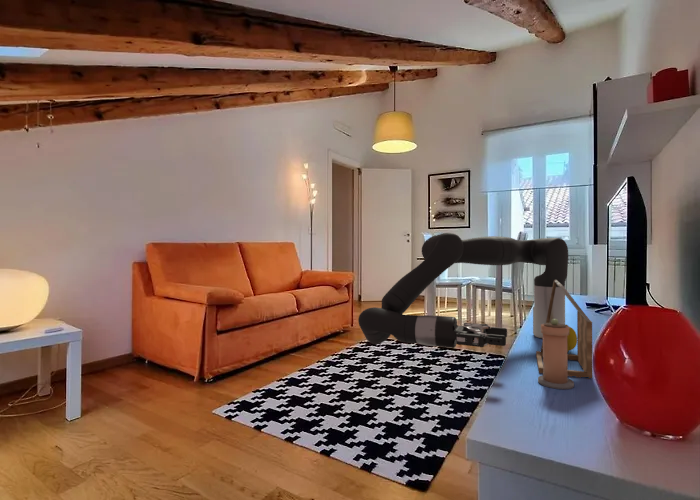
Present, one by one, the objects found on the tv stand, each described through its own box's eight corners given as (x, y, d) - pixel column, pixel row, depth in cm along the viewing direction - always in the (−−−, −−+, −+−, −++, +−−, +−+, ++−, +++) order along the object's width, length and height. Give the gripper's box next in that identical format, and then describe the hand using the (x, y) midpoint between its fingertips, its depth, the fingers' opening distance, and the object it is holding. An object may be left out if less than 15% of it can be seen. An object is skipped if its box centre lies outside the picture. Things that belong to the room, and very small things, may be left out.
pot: (535, 376, 87) (535, 316, 87) (558, 375, 88) (558, 316, 88) (551, 385, 82) (550, 321, 82) (575, 383, 82) (575, 320, 82)
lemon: (556, 348, 113) (556, 322, 113) (578, 351, 110) (577, 324, 110) (553, 353, 109) (553, 325, 109) (576, 356, 106) (576, 327, 106)
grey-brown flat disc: (531, 378, 88) (531, 375, 88) (560, 377, 89) (560, 374, 89) (550, 390, 81) (550, 386, 81) (581, 388, 82) (581, 384, 82)
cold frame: (536, 355, 107) (535, 279, 107) (581, 359, 102) (581, 280, 102) (539, 372, 92) (538, 284, 92) (592, 378, 88) (592, 285, 88)
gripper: (430, 320, 89) (505, 326, 82) (441, 311, 102) (507, 315, 95) (430, 353, 89) (505, 361, 82) (441, 339, 102) (507, 345, 95)
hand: (506, 336), depth 89 cm, fingers open, 8 cm apart
